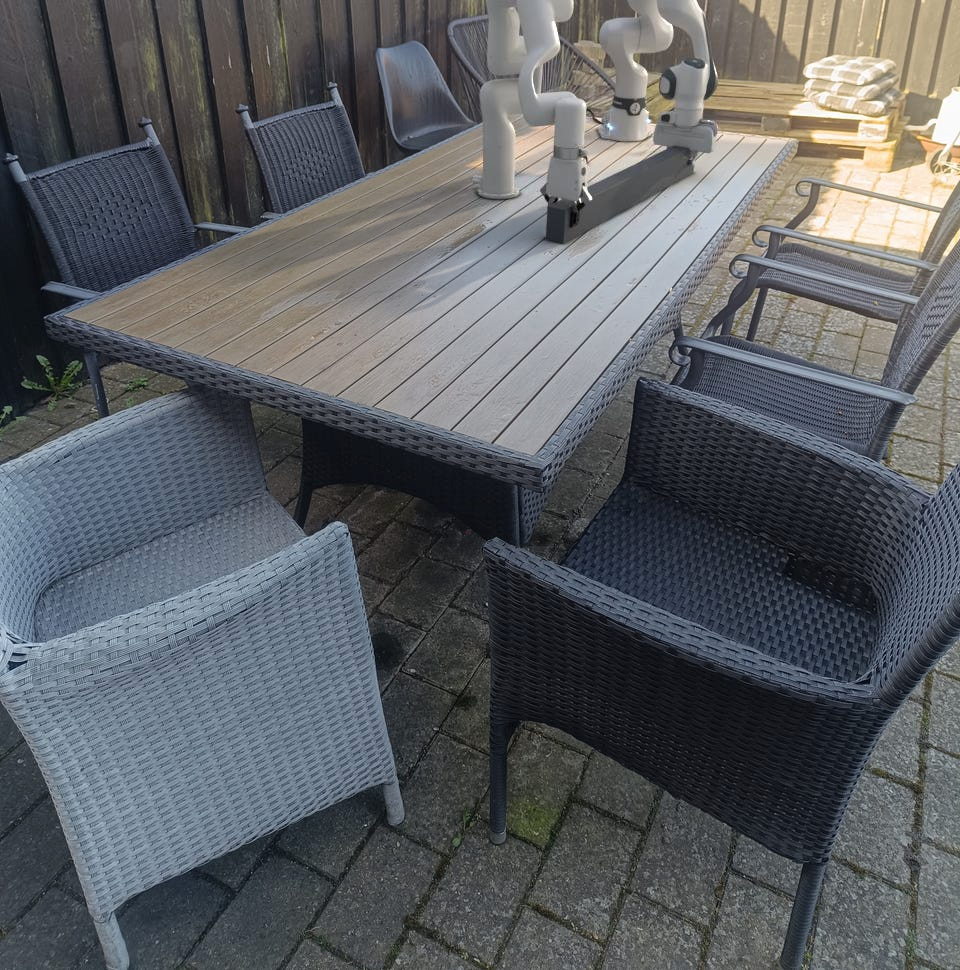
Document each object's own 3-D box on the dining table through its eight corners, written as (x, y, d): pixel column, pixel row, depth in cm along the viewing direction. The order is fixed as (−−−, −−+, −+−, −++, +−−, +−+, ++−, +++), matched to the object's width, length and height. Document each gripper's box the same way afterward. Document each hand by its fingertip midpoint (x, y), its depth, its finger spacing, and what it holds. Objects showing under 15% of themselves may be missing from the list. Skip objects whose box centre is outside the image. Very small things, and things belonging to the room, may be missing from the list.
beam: (563, 243, 220) (565, 210, 215) (545, 239, 223) (547, 206, 218) (693, 172, 274) (697, 144, 268) (677, 169, 276) (681, 141, 271)
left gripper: (605, 154, 210) (599, 226, 221) (547, 144, 218) (543, 213, 229) (590, 161, 205) (584, 234, 216) (531, 150, 213) (528, 221, 224)
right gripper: (723, 119, 259) (715, 166, 267) (662, 111, 269) (657, 156, 277) (714, 123, 255) (707, 170, 263) (653, 114, 265) (648, 160, 273)
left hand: (563, 222), depth 222 cm, fingers closed on beam, 5 cm apart
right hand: (681, 163), depth 270 cm, fingers closed on beam, 5 cm apart
